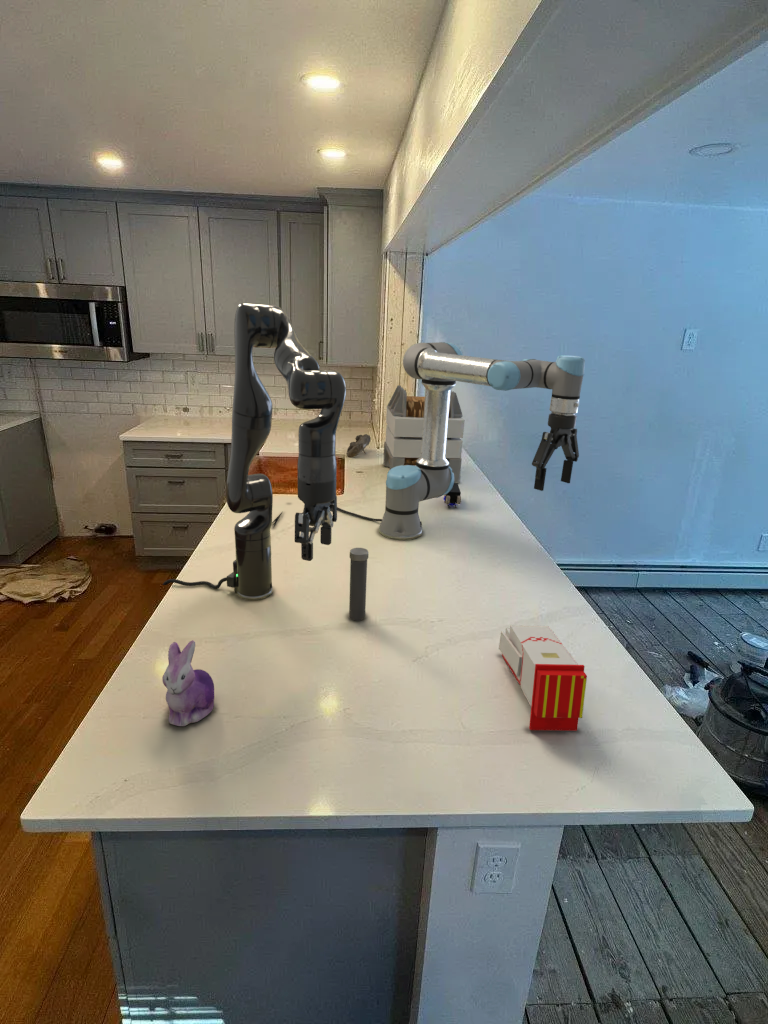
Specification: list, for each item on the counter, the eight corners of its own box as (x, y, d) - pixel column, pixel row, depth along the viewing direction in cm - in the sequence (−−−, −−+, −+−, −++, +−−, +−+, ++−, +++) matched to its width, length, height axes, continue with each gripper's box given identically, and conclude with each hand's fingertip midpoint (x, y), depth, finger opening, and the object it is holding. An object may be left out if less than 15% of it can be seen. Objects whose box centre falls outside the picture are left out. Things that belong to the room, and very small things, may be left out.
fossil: (346, 440, 316) (367, 425, 311) (357, 453, 319) (378, 438, 314) (340, 453, 296) (362, 438, 291) (351, 468, 299) (374, 452, 294)
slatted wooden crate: (382, 463, 289) (386, 382, 275) (445, 464, 293) (451, 384, 279) (390, 482, 257) (394, 392, 243) (460, 483, 261) (468, 394, 247)
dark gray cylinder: (351, 621, 143) (353, 557, 137) (347, 613, 147) (348, 550, 140) (367, 619, 144) (369, 555, 138) (362, 611, 148) (364, 548, 142)
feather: (289, 506, 225) (292, 502, 225) (272, 529, 199) (275, 525, 198) (286, 503, 225) (288, 500, 225) (268, 527, 199) (271, 522, 198)
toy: (545, 610, 133) (596, 671, 104) (540, 662, 136) (588, 737, 106) (494, 609, 133) (530, 670, 103) (490, 662, 135) (524, 736, 106)
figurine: (169, 735, 103) (162, 665, 98) (162, 702, 111) (154, 636, 106) (222, 721, 107) (218, 653, 102) (211, 689, 115) (206, 625, 110)
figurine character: (461, 513, 227) (456, 497, 240) (463, 496, 223) (458, 481, 237) (444, 512, 226) (440, 496, 240) (446, 495, 223) (442, 480, 237)
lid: (352, 562, 137) (352, 555, 136) (347, 554, 141) (347, 548, 140) (370, 560, 139) (371, 554, 138) (364, 552, 143) (365, 546, 142)
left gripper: (316, 464, 117) (315, 536, 123) (281, 482, 105) (283, 561, 110) (349, 469, 115) (347, 542, 121) (318, 488, 103) (317, 569, 108)
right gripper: (548, 419, 148) (537, 496, 155) (598, 411, 163) (586, 482, 171) (525, 414, 153) (515, 489, 160) (575, 407, 169) (564, 476, 176)
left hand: (316, 551), depth 116 cm, fingers open, 8 cm apart
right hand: (552, 485), depth 166 cm, fingers open, 13 cm apart
